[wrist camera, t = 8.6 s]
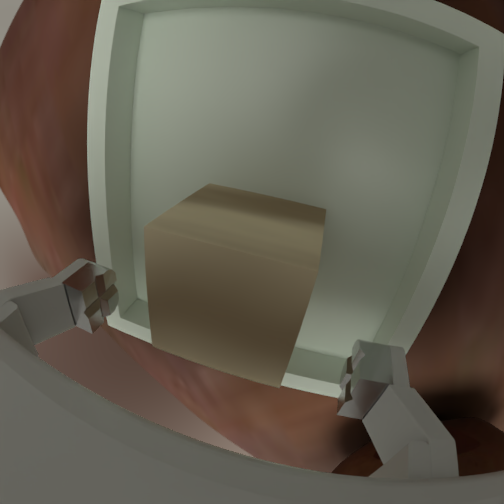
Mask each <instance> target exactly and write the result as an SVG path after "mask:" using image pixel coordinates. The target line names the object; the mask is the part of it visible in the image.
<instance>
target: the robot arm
mask: <svg viewBox="0 0 504 504" xmlns="http://www.w3.org/2000/svg"><path fill="white" fill-rule="evenodd" d="M116 281H117V279H116V274H115V272H114V271H113V270H112V269H109V268H107V267H104V266H102V265H99V264H97V263H94V262H91V261H88V260H86V259H83V258H81V259H78V260H76V261H75V262H73V263H72V264H71V265H69V266H68V267H67V268H65V269H64V270H62V271H61V272H60V273H58V274H57V275H56V276H54V277H53V278H52V279H51V278H46V279H41V280H37V281H33V282H30V283H26V284H22V285H18V286H14V287H10V288H7V289H3V290H0V504H504V470H503V471H498V472H491V473H485V474H478V475H469V476H459V473H458V461H457V452H456V443H455V440H454V438H453V437H452V436H451V435H450V433H449V432H448V431H447V429H446V428H445V427H444V425H443V424H442V423H441V422H440V420H439V419H438V418H437V416H436V415H435V414H434V413H433V411H432V410H431V409H430V407H429V406H428V405H427V404H426V402H425V401H424V400H423V399H422V397H421V396H420V395H419V394H418V392H417V391H416V390H415V389H414V388H410V383H409V376H408V369H407V363H406V357H405V351H404V349H403V347H398V346H392V345H385V344H380V343H375V342H370V341H365V340H360V339H357V340H356V342H355V343H354V345H353V347H352V356H350V357H348V358H347V360H346V362H345V364H344V366H343V369H342V372H341V377H340V385H339V386H340V388H341V389H342V392H341V394H340V396H339V397H338V407H337V415H341V416H346V417H351V418H357V419H362V422H363V424H364V426H365V428H366V430H367V432H368V434H369V436H370V438H371V440H372V442H373V444H374V446H375V448H376V450H377V452H378V454H379V456H380V459H381V461H382V463H383V466H381V467H380V468H379V469H378V470H376V471H375V472H374V473H373V474H371V475H370V476H369V477H362V476H351V475H342V474H334V473H327V472H320V471H314V470H308V469H303V468H297V467H292V466H287V465H283V464H278V463H274V462H270V461H265V460H261V459H258V458H254V457H250V456H246V455H243V454H239V453H236V452H233V451H229V450H226V449H222V448H220V447H217V446H213V445H211V444H208V443H205V442H202V441H199V440H196V439H193V438H191V437H188V436H186V435H183V434H180V433H178V432H175V431H173V430H170V429H168V428H166V427H163V426H161V425H159V424H156V423H154V422H152V421H149V420H147V419H145V418H143V417H141V416H139V415H136V414H134V413H132V412H130V411H128V410H126V409H124V408H122V407H120V406H118V405H116V404H114V403H112V402H110V401H109V400H107V399H105V398H103V397H101V396H99V395H97V394H96V393H94V392H92V391H90V390H89V389H87V388H85V387H83V386H82V385H80V384H79V383H77V382H75V381H74V380H72V379H70V378H69V377H67V376H66V375H64V374H62V373H61V372H59V371H58V370H56V369H55V368H53V367H52V366H50V365H49V364H47V363H46V362H44V361H43V360H42V359H40V358H39V357H38V352H37V350H36V348H35V346H34V345H36V344H38V343H40V342H42V341H45V340H47V339H49V338H51V337H54V336H56V335H58V334H60V333H62V332H65V331H67V330H69V329H71V328H74V327H75V326H78V327H80V328H81V329H84V330H86V331H88V332H90V333H92V334H93V333H94V332H95V331H96V330H97V329H98V328H99V327H100V325H101V324H102V323H103V320H104V317H106V316H109V315H111V314H112V313H113V312H114V311H115V309H116V307H117V305H118V301H119V293H118V290H117V288H116V286H115V285H114V284H115V282H116Z"/></svg>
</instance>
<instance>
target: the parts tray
mask: <svg viewBox="0 0 504 504" xmlns="http://www.w3.org/2000/svg"><path fill="white" fill-rule="evenodd" d="M503 73H504V34H503V33H501V32H500V31H498V30H496V29H494V28H493V27H491V26H489V25H487V24H485V23H483V22H481V21H479V20H477V19H476V18H473V17H471V16H469V15H467V14H465V13H463V12H461V11H459V10H456V9H454V8H452V7H450V6H447V5H445V4H442V3H440V2H437V1H435V0H102V1H101V6H100V11H99V16H98V22H97V27H96V33H95V40H94V47H93V55H92V63H91V73H90V84H89V99H88V122H87V163H88V187H89V202H90V214H91V224H92V234H93V242H94V250H95V257H96V263H97V264H99V265H102V266H104V267H107V268H109V269H112V270H113V271H114V272H115V274H116V279H117V281H116V282H115V284H114V285H115V286H116V288H117V290H118V293H119V301H118V305H117V307H116V309H115V311H114V312H113V313H112V314H111V315H109V316H106V318H107V322H108V325H109V326H111V327H113V328H116V329H118V330H120V331H123V332H125V333H127V334H130V335H132V336H134V337H137V338H139V339H142V340H144V341H147V342H149V343H152V339H151V330H150V321H149V310H148V299H147V286H146V270H145V249H144V226H145V225H147V224H148V223H150V222H151V221H153V220H154V219H155V218H157V217H158V216H160V215H161V214H163V213H164V212H166V211H167V210H169V209H170V208H172V207H173V206H175V205H176V204H178V203H179V202H181V201H182V200H184V199H185V198H187V197H188V196H190V195H192V194H193V193H195V192H196V191H198V190H199V189H201V188H203V187H204V186H206V185H207V184H209V183H211V184H216V185H221V186H226V187H231V188H236V189H240V190H245V191H250V192H254V193H259V194H264V195H268V196H273V197H277V198H281V199H286V200H290V201H294V202H298V203H303V204H307V205H311V206H315V207H319V208H323V209H326V216H325V225H324V233H323V241H322V249H321V256H320V263H319V270H318V274H317V278H316V281H315V284H314V288H313V291H312V294H311V297H310V301H309V304H308V307H307V310H306V313H305V316H304V319H303V322H302V326H301V329H300V332H299V335H298V338H297V340H296V343H295V346H294V349H293V352H292V355H291V358H290V361H289V364H288V366H287V369H286V372H285V375H284V377H283V380H282V383H281V385H282V386H286V387H290V388H294V389H298V390H303V391H307V392H312V393H316V394H321V395H326V396H331V397H336V398H338V397H339V396H340V394H341V392H342V389H341V388H340V386H339V385H340V377H341V372H342V369H343V366H344V364H345V362H346V360H347V358H348V357H350V356H352V347H353V345H354V343H355V342H356V340H357V339H360V340H365V341H370V342H375V343H380V344H385V345H392V346H398V347H403V349H404V351H405V355H406V354H407V352H408V350H409V349H410V347H411V346H412V344H413V342H414V340H415V339H416V337H417V335H418V334H419V332H420V330H421V328H422V327H423V325H424V323H425V321H426V319H427V317H428V316H429V314H430V312H431V310H432V308H433V306H434V304H435V302H436V300H437V298H438V296H439V294H440V292H441V290H442V288H443V286H444V284H445V282H446V280H447V278H448V275H449V273H450V271H451V269H452V267H453V264H454V262H455V260H456V257H457V255H458V252H459V250H460V248H461V245H462V243H463V240H464V238H465V235H466V232H467V230H468V227H469V224H470V221H471V219H472V216H473V213H474V210H475V207H476V204H477V201H478V198H479V194H480V191H481V188H482V184H483V181H484V177H485V174H486V170H487V166H488V162H489V158H490V154H491V150H492V145H493V141H494V136H495V131H496V126H497V120H498V114H499V108H500V101H501V93H502V84H503Z"/></svg>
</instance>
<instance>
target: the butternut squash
mask: <svg viewBox="0 0 504 504" xmlns="http://www.w3.org/2000/svg"><path fill="white" fill-rule="evenodd" d="M440 422H441V423H442V424H443V425H444V427H445V428H446V429H447V431H448V432H449V433H450V435H451V436H452V437H453V438H454V440H455V443H456V452H457V461H458V473H459V476H469V475H478V474H485V473H491V472H498V471H503V470H504V432H503V431H501V430H499V429H498V428H496V427H495V426H493V425H492V424H490V423H488V422H486V421H484V420H482V419H479V418H475V417H463V418H458V419H452V420H443V421H440ZM381 466H383V463H382V461H381V459H380V456H379V454H378V452H377V450H376V448H375V446H374V444H373V442H372V441H371V442H369V443H367V444H366V445H365V446H363V447H362V448H360V449H359V450H357V451H356V452H354V453H353V454H352V455H350V456H349V457H348V458H346V459H345V460H344V461H343V462H341V463H340V464H339V465H338V466H337V467H336V468H335V469H334V470H333V472H332V473H334V474H342V475H351V476H362V477H369V476H370V475H371V474H373V473H374V472H375V471H376V470H378V469H379V468H380V467H381Z"/></svg>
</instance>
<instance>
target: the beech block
mask: <svg viewBox="0 0 504 504" xmlns="http://www.w3.org/2000/svg"><path fill="white" fill-rule="evenodd" d="M325 216H326V209H323V208H319V207H315V206H311V205H307V204H303V203H298V202H294V201H290V200H286V199H281V198H277V197H273V196H268V195H264V194H259V193H254V192H250V191H245V190H240V189H236V188H231V187H226V186H221V185H216V184H211V183H209V184H207V185H206V186H204V187H203V188H201V189H199V190H198V191H196V192H195V193H193V194H192V195H190V196H188V197H187V198H185V199H184V200H182V201H181V202H179V203H178V204H176V205H175V206H173V207H172V208H170V209H169V210H167V211H166V212H164V213H163V214H161V215H160V216H158V217H157V218H155V219H154V220H153V221H151V222H150V223H148V224H147V225H145V226H144V249H145V270H146V286H147V299H148V310H149V321H150V330H151V339H152V346H153V347H156V348H158V349H161V350H163V351H166V352H169V353H171V354H174V355H176V356H179V357H182V358H185V359H187V360H190V361H193V362H196V363H198V364H201V365H204V366H207V367H210V368H213V369H216V370H219V371H222V372H225V373H229V374H232V375H235V376H238V377H242V378H245V379H248V380H252V381H255V382H259V383H262V384H266V385H269V386H273V387H277V388H280V386H281V383H282V380H283V377H284V375H285V372H286V369H287V366H288V364H289V361H290V358H291V355H292V352H293V349H294V346H295V343H296V340H297V338H298V335H299V332H300V329H301V326H302V322H303V319H304V316H305V313H306V310H307V307H308V304H309V301H310V297H311V294H312V291H313V288H314V284H315V281H316V278H317V274H318V270H319V263H320V256H321V249H322V241H323V233H324V225H325Z"/></svg>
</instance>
